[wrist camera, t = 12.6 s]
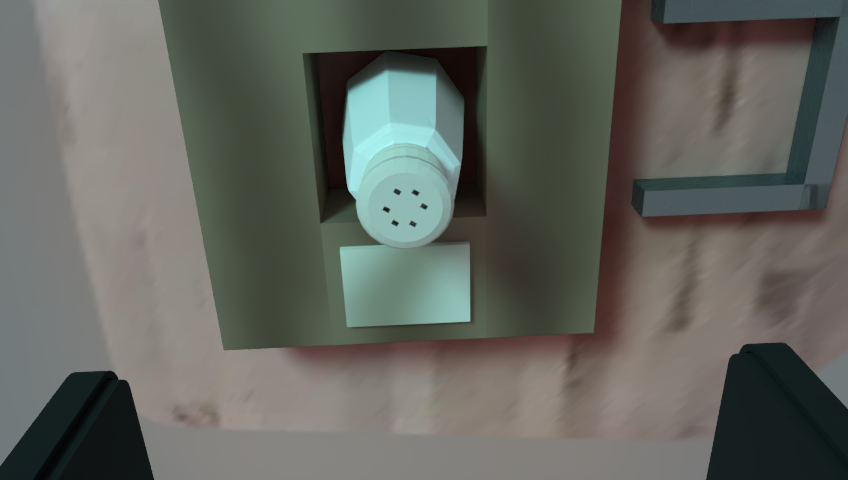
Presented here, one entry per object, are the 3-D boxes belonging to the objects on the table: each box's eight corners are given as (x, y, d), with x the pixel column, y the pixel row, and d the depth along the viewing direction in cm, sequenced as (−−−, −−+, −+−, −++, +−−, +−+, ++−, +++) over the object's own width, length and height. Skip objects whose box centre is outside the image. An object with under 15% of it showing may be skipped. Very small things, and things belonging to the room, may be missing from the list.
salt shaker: (423, 193, 31) (435, 321, 21) (316, 133, 29) (275, 238, 19) (489, 91, 29) (538, 177, 19) (379, 22, 27) (369, 74, 17)
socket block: (600, -131, 25) (636, -143, 22) (572, 288, 33) (595, 336, 29) (173, -117, 25) (131, -125, 21) (243, 303, 33) (222, 354, 29)
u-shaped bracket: (853, -20, 27) (877, -18, 26) (806, 196, 31) (825, 208, 30) (653, -12, 27) (667, -10, 26) (631, 204, 31) (642, 216, 30)
